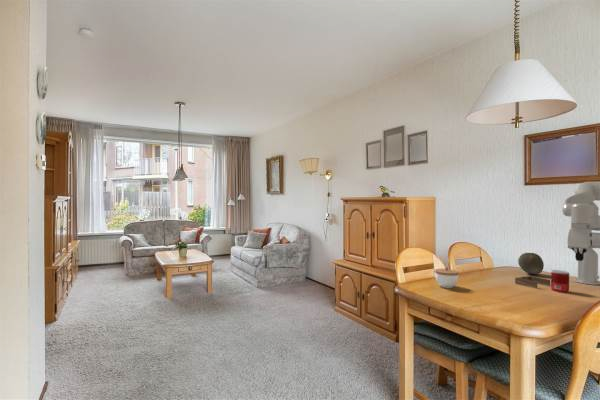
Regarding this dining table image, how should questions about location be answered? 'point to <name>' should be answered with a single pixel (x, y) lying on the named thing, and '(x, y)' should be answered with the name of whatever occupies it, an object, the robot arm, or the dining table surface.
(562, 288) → the canned food
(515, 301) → the dining table surface
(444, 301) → the dining table surface
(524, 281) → the corral
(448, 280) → the lidded bowl
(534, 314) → the dining table surface
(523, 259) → the cantaloupe
